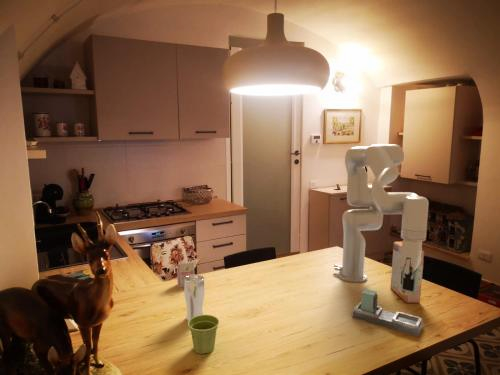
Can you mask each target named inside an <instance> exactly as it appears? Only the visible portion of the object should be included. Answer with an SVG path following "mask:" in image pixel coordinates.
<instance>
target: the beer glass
mask: <svg viewBox="0 0 500 375" xmlns="http://www.w3.org/2000/svg"><path fill="white" fill-rule="evenodd" d="M183 289H184V299H185V304H186V309H187V310H186V316H185V319H186V321H187V322H188V321H189V320H190V319H191V318H193V317H195V316H199V315H204V312H203V304H204V298H205V278H204V276H203V275H201V274H195V275H189V276H187V277H185V285H184V287H183Z"/></svg>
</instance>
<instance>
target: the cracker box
mask: <svg viewBox="0 0 500 375" xmlns="http://www.w3.org/2000/svg"><path fill="white" fill-rule="evenodd" d="M402 242H403V241H394V242H393V248H392V262H391V265H392V266H391V273H390V274H391V275H390V287H389V288H390V290H391V291H393V293H395V294H396V295H397V296H398V297H400V298H401V299H402V300H403V301H404V302H405V303H408V304H411V303H412V304H414V303H421V295H422V294H421V293H422V283H423V282H422V281H423V270H424V262H425V261H424V258H425V251H424V250H422V253H421V262H420V265H419V266H418V268H417V269H418V281H417V289H416V291H415V293H413V292H409V291H404V290H401V289H402V284H401V271H402V270H403V269H404V268H405V266H404V267H403V268H402V269H400V267H399V265H400V256H401V248H402Z"/></svg>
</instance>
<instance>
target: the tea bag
mask: <svg viewBox="0 0 500 375" xmlns="http://www.w3.org/2000/svg"><path fill="white" fill-rule="evenodd" d="M176 271H177V272H176V273H177V279H176V281H177V282H176V283H177V287H178V289H181V288H183V289H184V285H185V277H187V276H189V275H196V274H195V263H194V262H193V261H192V262H181V263H177V269H176Z"/></svg>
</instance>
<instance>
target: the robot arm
mask: <svg viewBox="0 0 500 375" xmlns="http://www.w3.org/2000/svg"><path fill="white" fill-rule="evenodd" d="M404 158H405V153H404V150H403V148H402V146H400V145H399V144H395V143H392V144H391V143H377V144H371V145H370V146H353V147H350V148H348V150H346V152H345V156H344V164H345V168H346V173H347V180H346V181H347V185H346V202H347V204H348V205H349V206H352V207H357V209H356V208H355V209H353V208H352V209H348V210H345V211H344V212H343V214H342V216H341V217H342V219H341V220H342V221H341V222H342V229H343V242H342V243H343V246H342V264H341V265H339V264H334V265H333V269H334V270H335V271H339V272H338V278H339V279H340V280H343V281H345V282H349V283H362V282H365V281H367V280H368V276H367V274H366V273H365V257H366V255H365V253H366V239H365V237H364V235H363V234H362V233H361V231H363V232H365V231H378V230H380V229H381V227H382V226H383V221H384V215H401V230H400V238H401V240H402V241H401V242H402V248H401V256H400V265H399V267H400V269H402V268H403V267H404V266H405V269H404V277H403V289H405V290H409V291H413V289H414V279H413V276H414V271H415V270H416V269H417V268H418V266H419V265H420V262H421V253H422V251H423V242H425V241H426V240H427V227H428V217H429V204H430V202H429V200H428V198H426V197H425V196H420V195H419V194H417V193H415V192H412V191H411V192H410V191H404V192H403V191H398V192H397V191H394V192H393V191H392V192H389V191H386V190H385V189H384V187H385V186H387V185H389V184H391V183H392V182H395V181H396V179H397V178H398V177H399V174H400V171H399V168H398V167H397V166H399V165H401V164H402V163H403V162H404V160H405V159H404ZM364 167H367V168H369V167H370V169H371V171H372V174H373V176H374V180H373V181H372V184H368V180H369V179H368V178H369V177H368V172H367V171H366V169H365V168H364ZM359 207H369V208H359ZM410 268H412V269H410ZM409 271H410V272H411V273H410V272H409Z"/></svg>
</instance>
